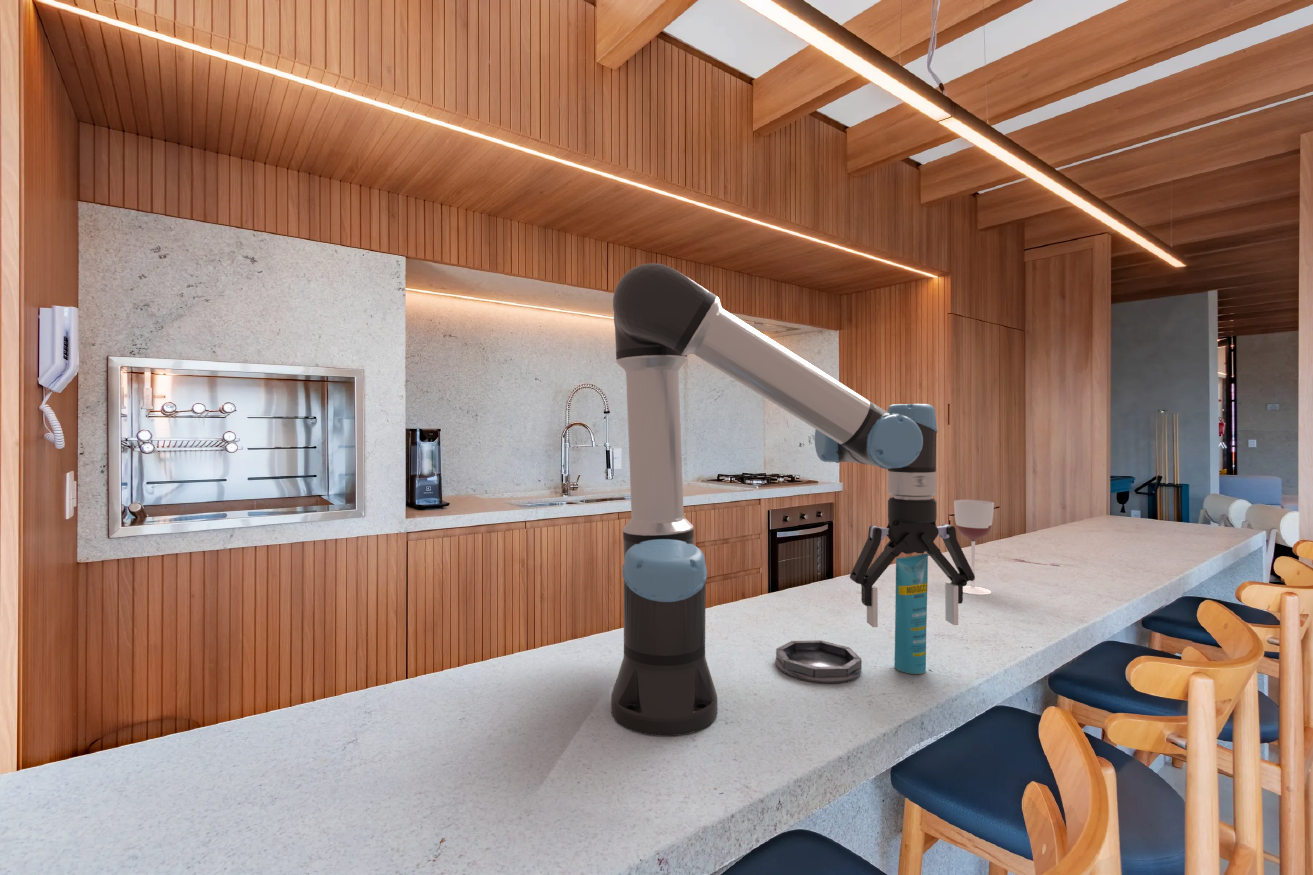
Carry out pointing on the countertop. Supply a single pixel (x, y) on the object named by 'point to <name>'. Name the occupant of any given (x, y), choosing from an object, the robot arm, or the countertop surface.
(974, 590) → the wineglass
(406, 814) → the countertop surface
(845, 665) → the octagonal bowl
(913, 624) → the tube
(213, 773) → the countertop surface
